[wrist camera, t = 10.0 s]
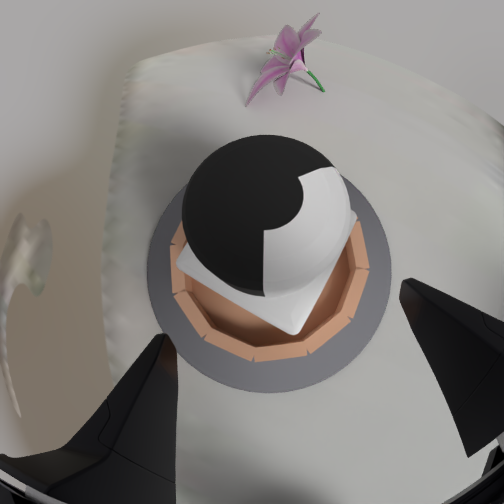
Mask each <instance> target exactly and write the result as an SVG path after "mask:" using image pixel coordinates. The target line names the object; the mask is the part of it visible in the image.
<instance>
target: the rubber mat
mask: <svg viewBox="0 0 504 504" xmlns="http://www.w3.org/2000/svg"><path fill="white" fill-rule="evenodd" d="M340 176H341V177H342V179H343V181H344V184H345V186H346V188H347V192H348V195H349V200H350V208H351V210H353V211H354V212H355V213H356V215H357V217H358V219H357V221H360V224H361V228H362V233H363V237H364V242H365V247H366V252H367V257H368V262H369V267H370V268H368V269H367V270H368V271H369V274H368V277H367V280H366V283H365V286H364V289H363V292H362V295H361V298H360V301H359V304H358V306H357V309H356V312H355V314H354V317H353V318H349V319H350V321H351V322H350V323H348V324H347V325H346V326H345V327H344V328H343V329H341V330H340V331H339V332H338V333H337V334H335V335H334V336H333V337H332V338H330V339H329V340H328V341H327V342H325V343H324V344H323V345H322V346H320V347H319V348H318V349H317V350H315V351H314V352H313V353H311V354H310V353H309V352H308V351H307V356H301V357H294V358H287V359H279V360H271V361H262V362H255V360H254V357H253V359H252V361H249V360H246V359H244V358H242V357H239V356H237V355H235V354H233V353H230V352H228V351H226V350H224V349H222V348H220V347H217V346H215V345H213V344H211V343H209V342H207V341H205V340H204V339H205V337H202V338H201V337H200V335H199V334H198V332H197V331H196V330H195V328H194V327H193V325H192V324H191V322H190V321H189V319H188V318H187V316H186V315H185V313H184V312H183V310H182V309H181V307H180V306H179V304H178V303H177V301H176V299H175V298H174V296H175V295H176V294H174V293H172V278H171V258H170V245H174V244H172V243H171V241H172V239H173V237H174V235H175V233H176V231H177V229H178V227H179V225H180V223H181V221H182V203H183V197H184V194H185V191H186V188H187V185H188V184H187V185H186V186H185V187H184V188H183V189H182V190H181V191H180V192H179V193H178V194H177V195H176V196H175V198H174V199H173V200H172V201H171V203H170V204H169V205H168V207H167V209H166V210H165V212H164V214H163V215H162V217H161V219H160V221H159V223H158V225H157V228H156V230H155V232H154V236H153V239H152V242H151V246H150V251H149V257H148V271H147V279H148V289H149V296H150V300H151V304H152V308H153V311H154V313H155V316H156V319H157V321H158V324H159V325H160V327H161V329H162V331H163V333H167V334H168V335H169V337H170V339H171V340H172V342H173V344H174V345H175V347H176V351H177V352H178V353H179V354H180V355H181V356H182V357H183V358H184V359H185V360H186V361H187V362H188V363H189V364H190V365H191V366H193V367H194V368H195V369H197V370H198V371H199V372H201V373H202V374H204V375H206V376H208V377H209V378H211V379H213V380H215V381H217V382H219V383H222V384H224V385H227V386H230V387H232V388H236V389H240V390H245V391H249V392H260V393H279V392H288V391H293V390H298V389H302V388H305V387H308V386H311V385H314V384H317V383H319V382H321V381H323V380H325V379H327V378H329V377H331V376H332V375H334V374H336V373H337V372H338V371H340V370H341V369H343V368H344V367H345V366H347V365H348V364H349V363H350V362H351V361H352V360H353V359H354V358H355V357H356V356H358V355H359V354H360V352H361V351H362V350H363V349H364V347H365V346H366V345H367V344H368V342H369V341H370V340H371V338H372V337H373V335H374V333H375V331H376V330H377V328H378V326H379V324H380V322H381V319H382V317H383V315H384V312H385V310H386V306H387V302H388V298H389V294H390V286H391V258H390V251H389V246H388V242H387V238H386V235H385V232H384V229H383V227H382V225H381V222H380V220H379V218H378V216H377V215H376V213H375V211H374V209H373V208H372V206H371V205H370V203H369V202H368V201H367V199H366V198H365V197H364V196H363V194H362V193H361V192H360V191H359V190H358V189H357V188H356V187H355V186H354V185H353V184H352V183H351V182H350V181H348V180H347V179H346V178H344V177H343V176H342V175H340Z"/></svg>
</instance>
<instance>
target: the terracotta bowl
mask: <svg viewBox="0 0 504 504" xmlns="http://www.w3.org/2000/svg"><path fill="white" fill-rule="evenodd" d="M357 219H358V217H357ZM357 219H356V222H355V224H354V227H353V229H352V231H351V233H350V235H349V237H348V240H347V242H346V244H345V246H344V248H343V250H342V252H341V254H340V256H339V258H338V260H337V263H336V265H335V267H334V269H333V271H332V273H331V275H330V277H329V279H328V280H327V282H326V284H325V286H324V288H323V290H322V292H321V294H320V296H319V298H318V300H317V301H316V303H315V305H314V307H313V309H312V311H311V313H310V314H309V316H308V318H307V320H306V322H305V323H304V325H303V327H302V329H301V330H300V332H299V333H298V334H296V335H291V334H288V333H286V332H285V331H283V330H281V329H279V328H277V327H275V326H274V325H272V324H270V323H268V322H267V321H265V320H263V319H261V318H259V317H258V316H256V315H254V314H252V313H251V312H249V311H247V310H245V309H244V308H242V307H240V306H239V305H237V304H235V303H233V302H232V301H230V300H228V299H227V298H225V297H223V296H222V295H220V294H218V293H217V292H215V291H213V290H212V289H210V288H208V287H207V286H205V285H203V284H202V283H200V282H199V281H197V280H195V279H194V278H192V277H191V276H189V275H187V274H186V273H184V272H183V271H181V270H179V269H178V267H177V266H176V261H177V258H178V257H179V255H180V253H181V252H182V250H183V249H184V247H185V245H186V244H187V240H186V237H185V233H184V230H183V224H182V221H181V223H180V225H179V227H178V229H177V231H176V233H175V235H174V237H173V239H172V241H171V243H172V244H174V245H170V258H171V278H172V293H174V294H176V295H175V296H174V298H175V299H176V301H177V303H178V304H179V306H180V307H181V309H182V310H183V312H184V313H185V315H186V316H187V318H188V319H189V321H190V322H191V324H192V325H193V327H194V328H195V330H196V331H197V332H198V334H199V335H200V337H201V338H202V337H205V339H204V340H205V341H207V342H209V343H211V344H213V345H215V346H217V347H220V348H222V349H224V350H226V351H228V352H230V353H233V354H235V355H237V356H239V357H242V358H244V359H246V360H249V361H252V359H253V357H254V360H255V362H262V361H271V360H279V359H287V358H294V357H301V356H307V351H308V352H309V353H310V354H311V353H313V352H314V351H315V350H317V349H318V348H319V347H320V346H322V345H323V344H324V343H325V342H327V341H328V340H329V339H330V338H332V337H333V336H334V335H335V334H337V333H338V332H339V331H340V330H341V329H343V328H344V327H345V326H346V325H347V324H348V323H350V322H351V321H350V319H349V318H353V317H354V314H355V312H356V309H357V306H358V304H359V301H360V298H361V295H362V292H363V289H364V286H365V283H366V280H367V277H368V274H369V271H368V270H367V269H368V268H370V267H369V262H368V257H367V252H366V247H365V242H364V237H363V233H362V228H361V224H360V221H357Z"/></svg>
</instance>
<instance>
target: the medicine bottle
mask: <svg viewBox="0 0 504 504" xmlns="http://www.w3.org/2000/svg"><path fill="white" fill-rule="evenodd" d="M356 219H357V215H356V213H355V212H354V211H353V210H351V208H350V200H349V195H348V192H347V188H346V186H345V184H344V181H343V179H342V177H341V176H340V174H339V173H338V171H337V169H336V168H335V167H334V166H333V164H332V163H331V162H330V161H329V160H328V159H327V158H326V157H325V156H324V155H322V154H321V153H320V152H318V151H317V150H316V149H314V148H313V147H311V146H309V145H307V144H305V143H303V142H300V141H298V140H295V139H292V138H288V137H283V136H276V135H257V136H250V137H245V138H241V139H239V140H236V141H233V142H230V143H228V144H227V145H225V146H223V147H221V148H219V149H218V150H216V151H215V152H213V153H212V154H211V155H210V156H209V157H207V158H206V159H205V160H204V161H203V162H202V163H201V165H200V166H199V167H198V168H197V169H196V171H195V172H194V174H193V175H192V177H191V179H190V181H189V183H188V185H187V188H186V191H185V194H184V197H183V203H182V224H183V230H184V233H185V237H186V240H187V244H186V245H185V247H184V249H183V250H182V252H181V253H180V255H179V257H178V258H177V261H176V266H177V267H178V269H179V270H181V271H183V272H184V273H186V274H187V275H189V276H191V277H192V278H194V279H195V280H197V281H199V282H200V283H202V284H203V285H205V286H207V287H208V288H210V289H212V290H213V291H215V292H217V293H218V294H220V295H222V296H223V297H225V298H227V299H228V300H230V301H232V302H233V303H235V304H237V305H239V306H240V307H242V308H244V309H245V310H247V311H249V312H251V313H252V314H254V315H256V316H258V317H259V318H261V319H263V320H265V321H267V322H268V323H270V324H272V325H274V326H275V327H277V328H279V329H281V330H283V331H285V332H286V333H288V334H291V335H296V334H298V333H299V332H300V330H301V329H302V327H303V325H304V323H305V322H306V320H307V318H308V316H309V314H310V313H311V311H312V309H313V307H314V305H315V303H316V301H317V300H318V298H319V296H320V294H321V292H322V290H323V288H324V286H325V284H326V282H327V280H328V279H329V277H330V275H331V273H332V271H333V269H334V267H335V265H336V263H337V260H338V258H339V256H340V254H341V252H342V250H343V248H344V246H345V244H346V242H347V240H348V237H349V235H350V233H351V231H352V229H353V227H354V224H355V222H356Z"/></svg>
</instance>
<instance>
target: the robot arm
mask: <svg viewBox="0 0 504 504" xmlns="http://www.w3.org/2000/svg"><path fill="white" fill-rule="evenodd" d="M399 300H400V303H401V305H402V308H403V310H404V312H405V315H406V317H407V319H408V322H409V324H410V327H411V329H412V331H413V333H414V335H415V337H416V339H417V341H418V343H419V345H420V347H421V349H422V351H423V353H424V355H425V357H426V359H427V361H428V363H429V365H430V367H431V369H432V371H433V373H434V375H435V377H436V379H437V381H438V384H439V386H440V388H441V390H442V392H443V395H444V397H445V399H446V402H447V404H448V406H449V409H450V411H451V414H452V416H453V419H454V421H455V424H456V427H457V429H458V432H459V435H460V437H461V440H462V443H463V446H464V449H465V452H466V455H467V457H468V458H469V457H470V456H472V455H473V454H475V453H476V452H478V451H479V450H481V449H482V448H483V447H485V446H486V445H487V444H489V443H490V442H491V441H493V440H494V439H495V438H496V439H497V441H498V443H499V445H498V446H497V447H495V448H494V449H493V450H492V451H490V453H489V456H488V460H487V463H486V466H485V468H484V471H483V474H482V477H481V478H480V479H479V480H477V481H476V482H475V483H473V484H472V485H470V486H469V487H467V488H466V489H464V490H463V491H461V492H460V493H458V494H457V495H455V496H454V497H452V498H450V499H449V500H447V501H445V502H444V503H442V504H504V322H503V321H500V320H498V319H496V318H494V317H492V316H490V315H488V314H486V313H484V312H481V311H480V310H478V309H476V308H474V307H472V306H470V305H468V304H466V303H464V302H462V301H460V300H458V299H456V298H454V297H452V296H450V295H448V294H446V293H444V292H442V291H439V290H437V289H435V288H433V287H431V286H429V285H427V284H425V283H422V282H420V281H418V280H416V279H414V278H408V279H405V280H403V281H402V283H401V289H400V295H399ZM177 401H178V371H177V351H176V347H175V345H174V344H173V342H172V340H171V339H170V337H169V335H168V334H167V333H162V334H157V335H156V336H155V337H154V338H153V339H152V340H151V342H150V343H149V344H148V345H147V347H146V348H145V349H144V350H143V352H142V353H141V354H140V356H139V357H138V358H137V359H136V361H135V362H134V363H133V364H132V366H131V367H130V368H129V369H128V371H127V372H126V373H125V375H124V376H123V377H122V378H121V380H120V381H119V382H118V384H117V385H116V386H115V387H114V389H113V390H112V391H111V393H110V394H109V395H108V396H107V399H105V400H104V402H103V403H102V404H101V406H100V407H99V408H98V409H97V411H96V412H95V413H94V414H93V416H92V417H91V418H90V419H89V420H88V421H87V422H86V423H85V424H84V426H83V427H82V428H81V429H80V430H79V431H78V432H77V433H76V434H75V435H74V436H73V437H72V439H71V440H70V441H69V442H68V443H67V444H65V445H64V446H63V447H61V448H59V449H56V450H53V451H49V452H45V453H40V454H35V455H31V456H26V457H20V458H11V457H8V456H7V455H5V454H0V469H1V470H3V471H4V472H6V473H8V474H9V475H11V476H12V477H14V478H15V479H17V480H19V481H20V482H22V483H24V484H26V491H25V492H24V491H22V490H20V489H19V488H17V487H15V486H13V485H11V484H9V483H7V482H6V481H4V480H2V479H1V478H0V504H176V484H175V459H176V421H177Z"/></svg>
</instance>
